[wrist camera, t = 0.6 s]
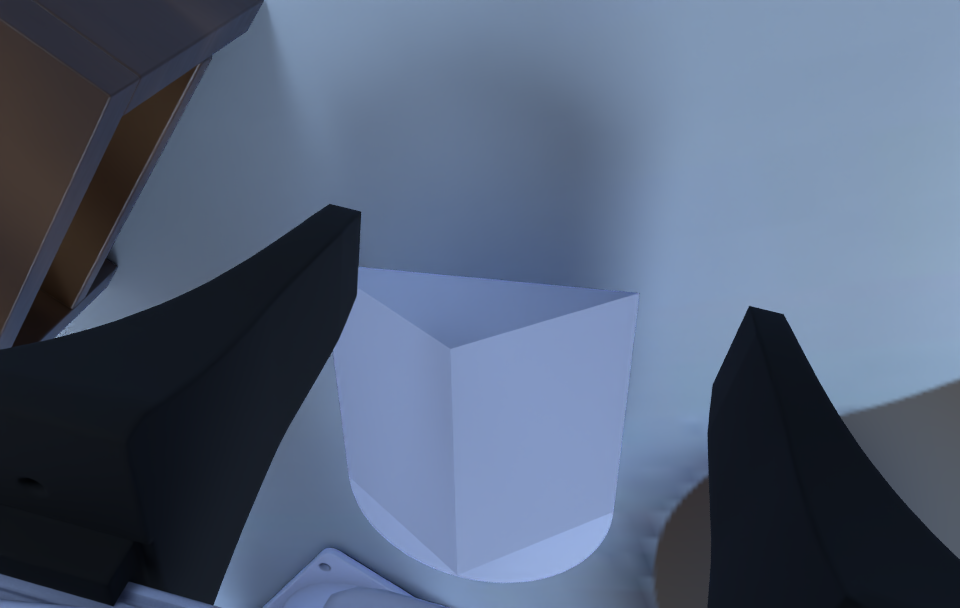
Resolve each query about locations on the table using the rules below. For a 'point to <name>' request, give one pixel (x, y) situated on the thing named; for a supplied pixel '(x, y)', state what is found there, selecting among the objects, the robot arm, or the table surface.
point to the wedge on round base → (485, 418)
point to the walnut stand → (87, 136)
